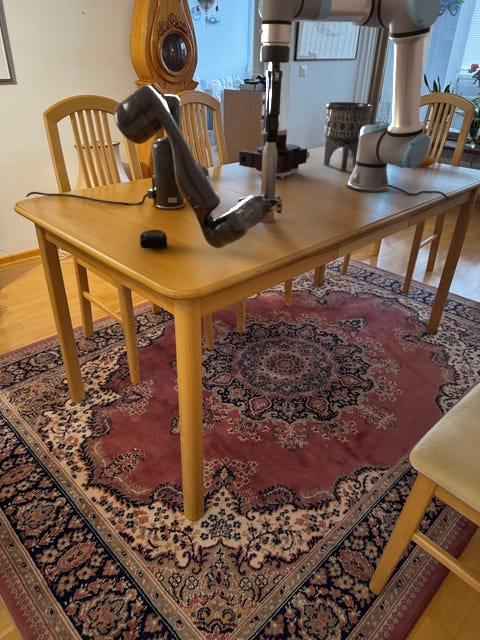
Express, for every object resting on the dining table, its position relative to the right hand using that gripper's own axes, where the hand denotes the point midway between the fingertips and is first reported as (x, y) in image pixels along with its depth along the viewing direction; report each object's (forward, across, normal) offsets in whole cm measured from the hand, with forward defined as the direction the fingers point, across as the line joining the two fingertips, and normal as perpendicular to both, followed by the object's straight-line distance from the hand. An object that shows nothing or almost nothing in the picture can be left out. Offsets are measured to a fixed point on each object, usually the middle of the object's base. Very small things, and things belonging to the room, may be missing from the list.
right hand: (270, 140), depth 128 cm
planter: (+23, -80, +42) cm, 93 cm away
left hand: (+17, -2, +1) cm, 17 cm away
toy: (+23, -84, +81) cm, 119 cm away
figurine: (+23, -112, +54) cm, 126 cm away
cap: (-2, 0, 0) cm, 2 cm away
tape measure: (+23, +24, -31) cm, 46 cm away
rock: (+23, -53, -24) cm, 63 cm away
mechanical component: (+23, -65, +12) cm, 70 cm away
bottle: (+23, 0, 0) cm, 23 cm away
